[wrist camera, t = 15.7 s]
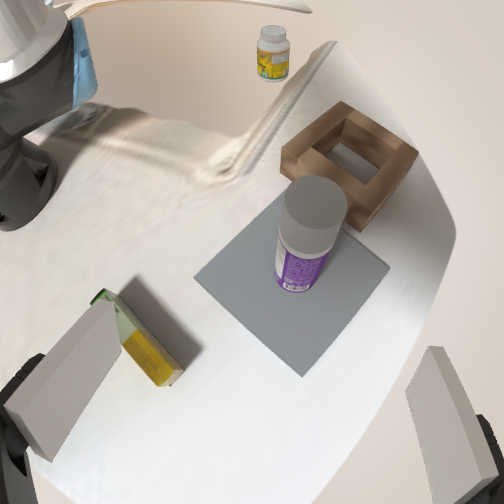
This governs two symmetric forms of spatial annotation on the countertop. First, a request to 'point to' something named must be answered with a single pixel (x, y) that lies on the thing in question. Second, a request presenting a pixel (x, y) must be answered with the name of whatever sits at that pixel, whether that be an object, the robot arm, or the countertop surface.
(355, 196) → the walnut box
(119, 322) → the medication box
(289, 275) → the container
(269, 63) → the supplement bottle
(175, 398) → the countertop surface
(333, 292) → the grey mat
